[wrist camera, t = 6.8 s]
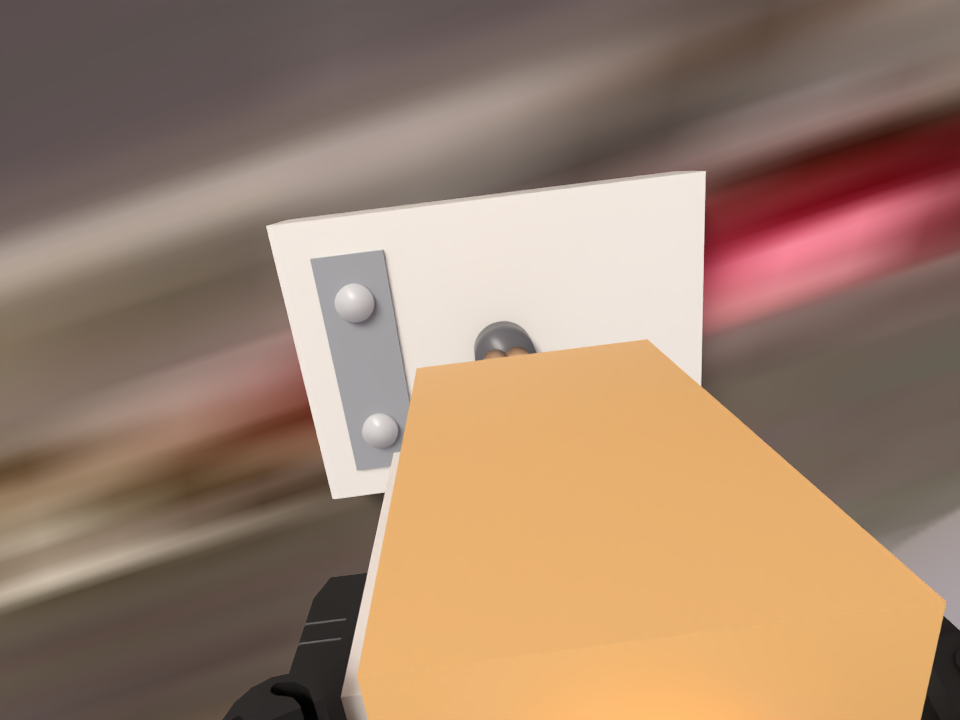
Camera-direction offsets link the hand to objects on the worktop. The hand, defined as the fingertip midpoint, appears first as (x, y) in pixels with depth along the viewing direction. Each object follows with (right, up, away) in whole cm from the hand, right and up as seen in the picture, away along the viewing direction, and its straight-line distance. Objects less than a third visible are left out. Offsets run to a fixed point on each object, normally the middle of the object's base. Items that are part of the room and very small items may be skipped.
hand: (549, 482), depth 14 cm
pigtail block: (-1, +5, +13) cm, 14 cm away
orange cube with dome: (0, 0, +1) cm, 1 cm away
